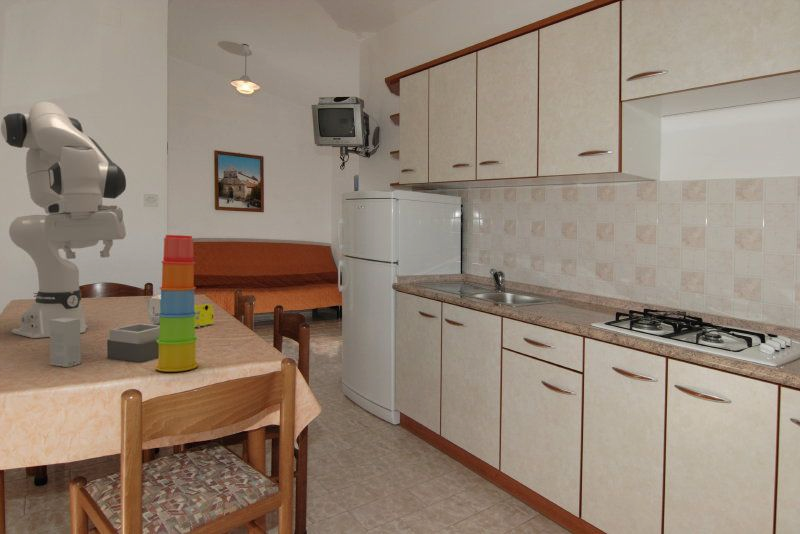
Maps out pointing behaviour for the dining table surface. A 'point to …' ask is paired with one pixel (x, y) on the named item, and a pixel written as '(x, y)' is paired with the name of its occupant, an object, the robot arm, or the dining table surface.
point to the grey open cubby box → (134, 342)
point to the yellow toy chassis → (204, 315)
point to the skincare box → (65, 342)
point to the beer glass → (154, 310)
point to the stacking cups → (177, 306)
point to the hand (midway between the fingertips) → (88, 258)
